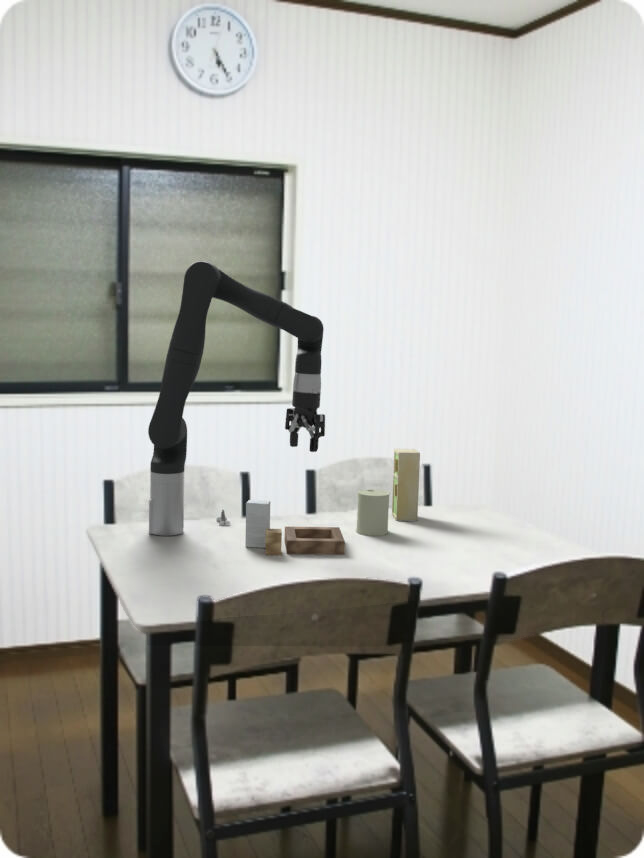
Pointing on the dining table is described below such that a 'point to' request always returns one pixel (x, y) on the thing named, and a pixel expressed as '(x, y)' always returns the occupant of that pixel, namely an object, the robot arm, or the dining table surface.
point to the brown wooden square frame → (314, 540)
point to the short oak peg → (273, 542)
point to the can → (372, 512)
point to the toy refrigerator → (405, 484)
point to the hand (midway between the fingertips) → (303, 449)
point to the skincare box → (257, 522)
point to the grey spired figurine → (222, 519)
